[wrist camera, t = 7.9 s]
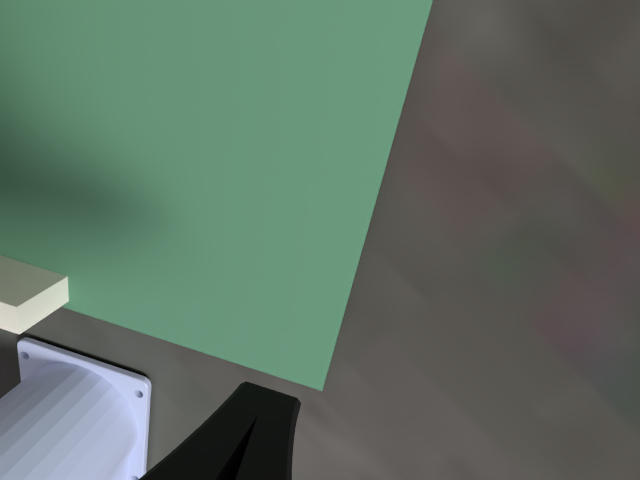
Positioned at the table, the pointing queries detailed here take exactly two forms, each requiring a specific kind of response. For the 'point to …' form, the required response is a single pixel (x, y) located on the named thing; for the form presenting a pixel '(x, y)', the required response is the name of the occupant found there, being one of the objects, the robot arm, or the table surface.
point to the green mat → (203, 162)
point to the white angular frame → (28, 294)
